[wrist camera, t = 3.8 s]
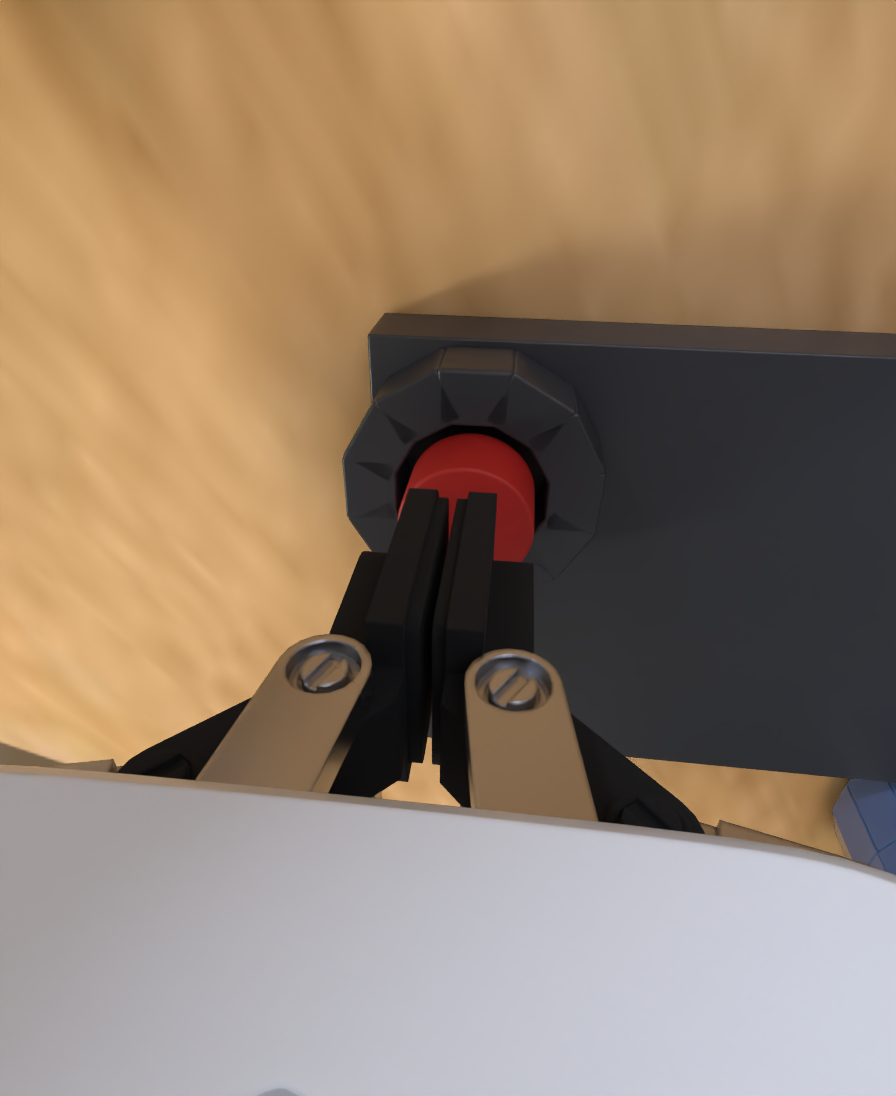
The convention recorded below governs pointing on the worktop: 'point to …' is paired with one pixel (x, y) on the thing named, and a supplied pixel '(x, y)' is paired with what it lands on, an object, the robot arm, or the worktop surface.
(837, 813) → the cup
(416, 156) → the worktop surface
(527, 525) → the button
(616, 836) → the robot arm
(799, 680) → the scale
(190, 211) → the worktop surface
